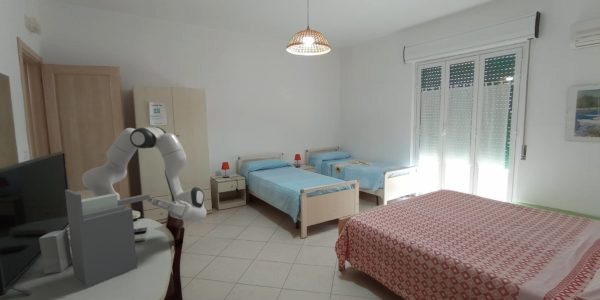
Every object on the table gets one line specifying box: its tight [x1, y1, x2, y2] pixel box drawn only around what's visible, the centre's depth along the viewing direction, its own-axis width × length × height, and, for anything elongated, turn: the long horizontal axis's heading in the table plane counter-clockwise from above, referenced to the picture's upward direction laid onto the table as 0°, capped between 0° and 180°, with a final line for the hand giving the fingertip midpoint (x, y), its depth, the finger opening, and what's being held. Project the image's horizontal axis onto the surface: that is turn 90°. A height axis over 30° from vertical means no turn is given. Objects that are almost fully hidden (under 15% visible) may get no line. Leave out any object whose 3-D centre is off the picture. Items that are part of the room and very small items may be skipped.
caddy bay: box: [64, 189, 138, 289], centre depth 115 cm, size 14×18×36 cm
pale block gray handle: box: [81, 193, 151, 214], centre depth 119 cm, size 4×26×6 cm, turn 143°
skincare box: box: [38, 229, 73, 275], centre depth 120 cm, size 8×7×16 cm
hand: (152, 201), depth 131 cm, fingers open, 8 cm apart
